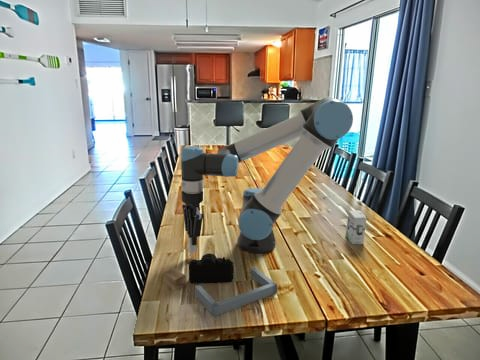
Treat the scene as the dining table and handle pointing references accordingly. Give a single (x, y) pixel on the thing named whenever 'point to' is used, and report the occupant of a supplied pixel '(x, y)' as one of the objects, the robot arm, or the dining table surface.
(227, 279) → the film camera
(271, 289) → the bay
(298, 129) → the robot arm
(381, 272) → the dining table surface
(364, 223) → the ink box
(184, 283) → the oak chock block
